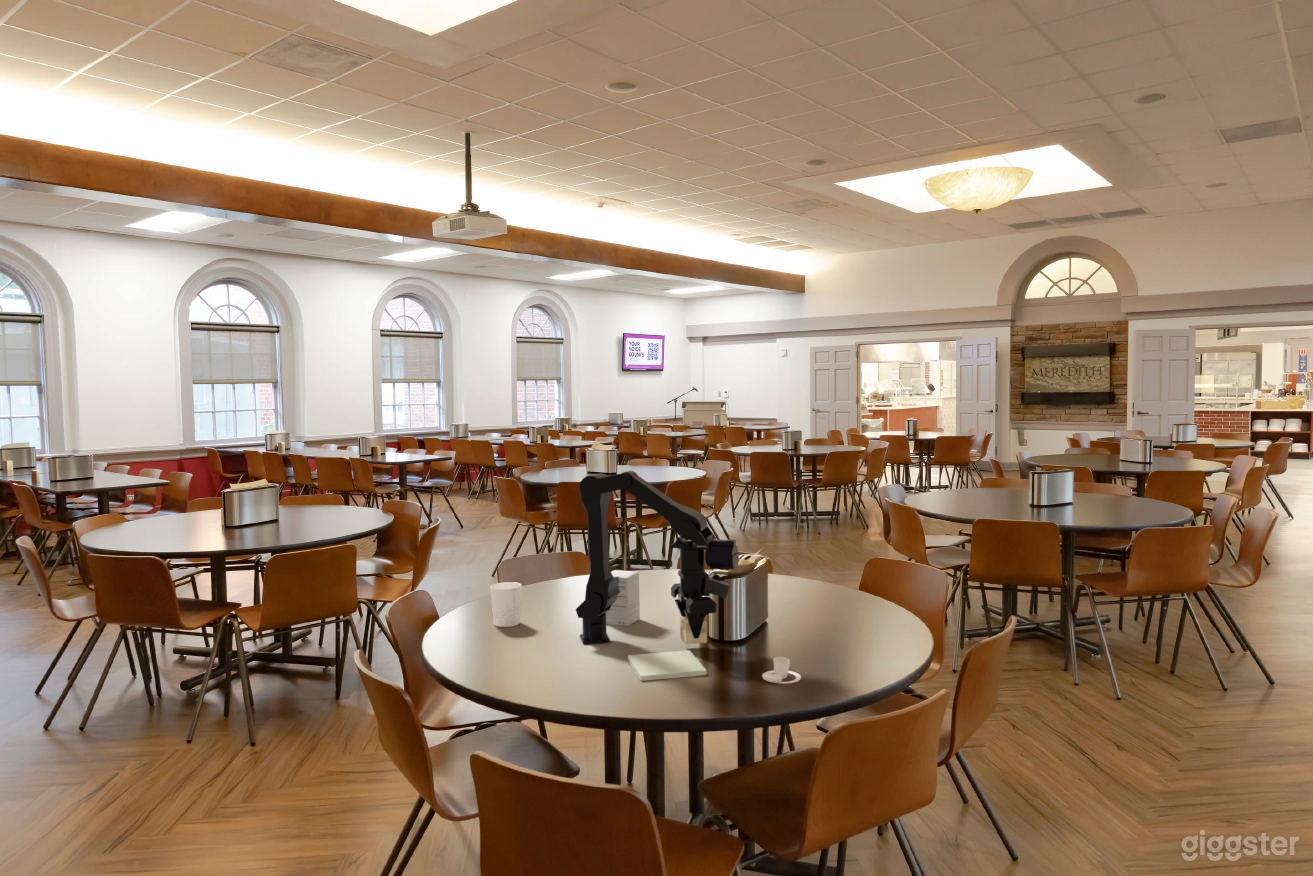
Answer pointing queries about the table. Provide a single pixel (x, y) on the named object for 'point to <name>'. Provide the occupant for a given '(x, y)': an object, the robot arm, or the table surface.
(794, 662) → the table surface
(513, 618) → the white cup
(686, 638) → the maple cube
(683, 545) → the robot arm
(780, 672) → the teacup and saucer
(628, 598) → the supplement box
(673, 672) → the sage board
